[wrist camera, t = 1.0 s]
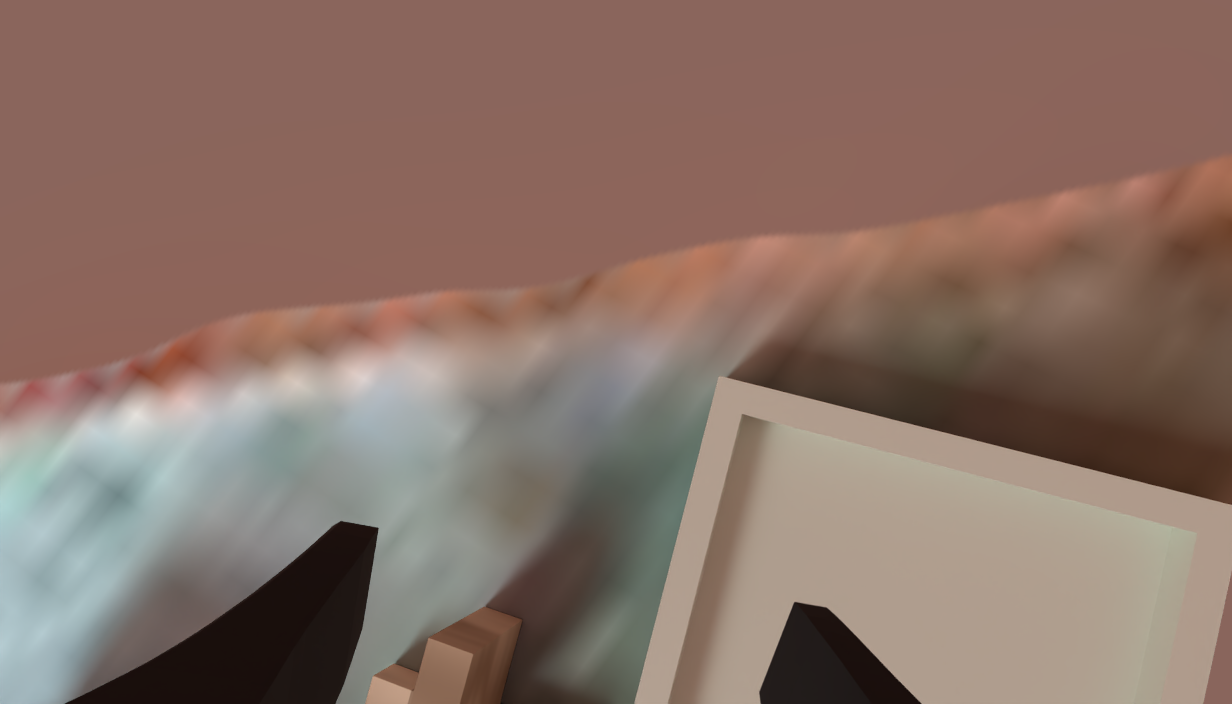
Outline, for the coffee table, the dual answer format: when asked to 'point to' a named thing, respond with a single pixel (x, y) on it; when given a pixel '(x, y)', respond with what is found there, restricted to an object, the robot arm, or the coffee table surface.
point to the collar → (455, 664)
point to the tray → (933, 563)
